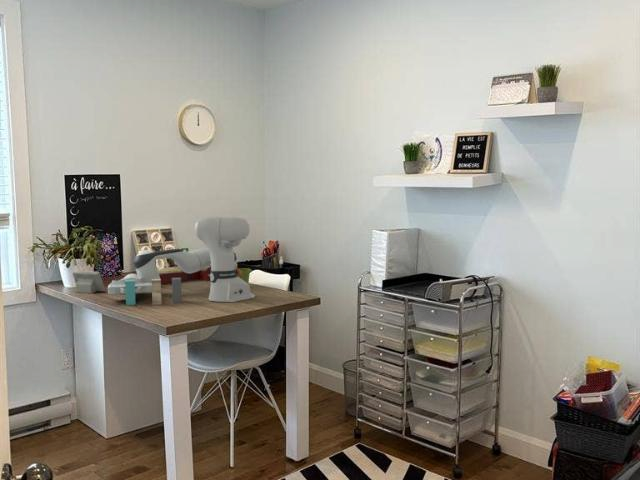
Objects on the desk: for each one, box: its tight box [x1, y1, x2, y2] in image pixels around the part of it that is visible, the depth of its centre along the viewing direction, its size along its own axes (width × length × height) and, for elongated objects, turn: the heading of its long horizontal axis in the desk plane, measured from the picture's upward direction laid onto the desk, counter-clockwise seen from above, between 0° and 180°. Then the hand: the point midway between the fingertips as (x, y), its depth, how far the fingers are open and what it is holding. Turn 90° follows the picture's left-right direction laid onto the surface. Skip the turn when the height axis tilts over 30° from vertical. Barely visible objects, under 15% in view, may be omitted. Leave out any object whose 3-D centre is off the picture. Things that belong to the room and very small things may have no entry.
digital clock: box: [72, 270, 105, 294], centre depth 313 cm, size 16×9×11 cm, turn 61°
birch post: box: [151, 279, 162, 306], centre depth 283 cm, size 4×4×11 cm
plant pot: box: [235, 267, 252, 284], centre depth 328 cm, size 9×9×9 cm
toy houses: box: [157, 264, 211, 286], centre depth 340 cm, size 45×20×10 cm, turn 132°
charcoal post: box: [171, 278, 183, 304], centre depth 287 cm, size 4×4×11 cm
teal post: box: [125, 280, 136, 306], centre depth 282 cm, size 4×4×11 cm
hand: (130, 291), depth 281 cm, fingers closed on teal post, 4 cm apart
